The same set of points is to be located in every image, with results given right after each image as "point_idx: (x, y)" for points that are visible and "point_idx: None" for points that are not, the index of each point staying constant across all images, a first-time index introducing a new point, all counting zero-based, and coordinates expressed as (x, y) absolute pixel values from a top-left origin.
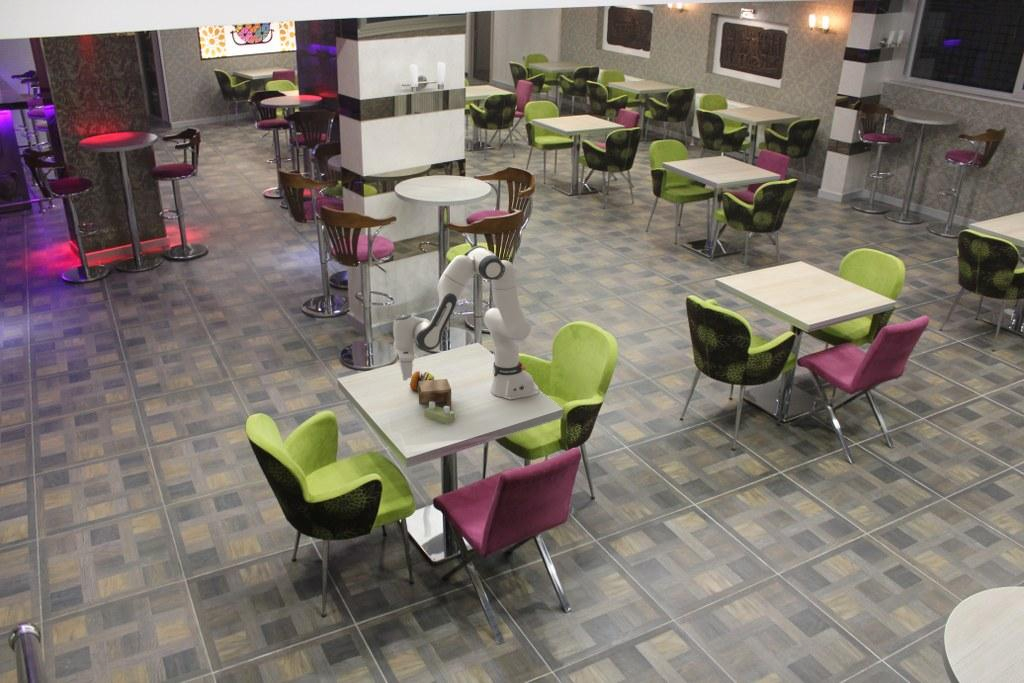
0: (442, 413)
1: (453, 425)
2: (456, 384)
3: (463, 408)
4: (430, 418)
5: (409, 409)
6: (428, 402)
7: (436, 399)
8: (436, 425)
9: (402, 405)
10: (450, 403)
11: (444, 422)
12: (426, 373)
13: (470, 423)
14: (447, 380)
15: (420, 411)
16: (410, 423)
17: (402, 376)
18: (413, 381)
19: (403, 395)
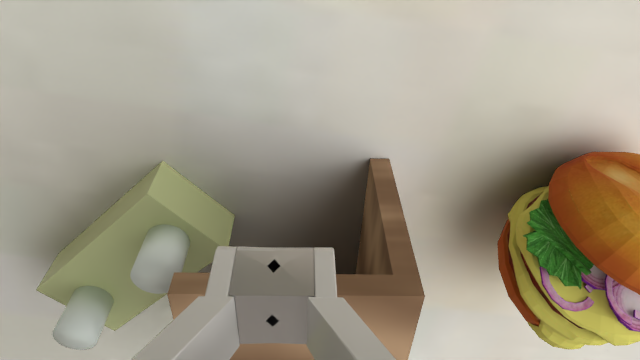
0: (90, 280)
1: None
2: (532, 348)
3: None
4: (129, 190)
5: (294, 81)
6: (363, 213)
7: (360, 263)
8: (33, 207)
9: (381, 37)
10: None
11: (62, 252)
12: (611, 333)
13: None
14: None
15: (247, 149)
16: (42, 51)
17: (323, 261)
18: (595, 214)
19: (558, 73)
